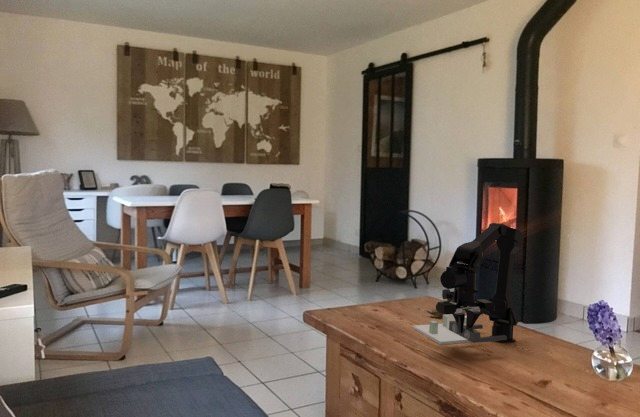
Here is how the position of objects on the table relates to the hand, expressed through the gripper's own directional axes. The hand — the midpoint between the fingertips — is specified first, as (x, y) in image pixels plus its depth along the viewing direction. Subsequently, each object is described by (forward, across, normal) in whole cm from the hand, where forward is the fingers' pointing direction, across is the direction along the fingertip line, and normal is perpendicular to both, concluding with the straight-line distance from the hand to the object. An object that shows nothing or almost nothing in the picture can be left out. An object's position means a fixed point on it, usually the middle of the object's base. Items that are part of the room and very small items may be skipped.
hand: (464, 332), depth 176 cm
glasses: (+1, -5, 0) cm, 5 cm away
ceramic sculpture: (+7, -19, -40) cm, 44 cm away
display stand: (+7, -5, -19) cm, 21 cm away
